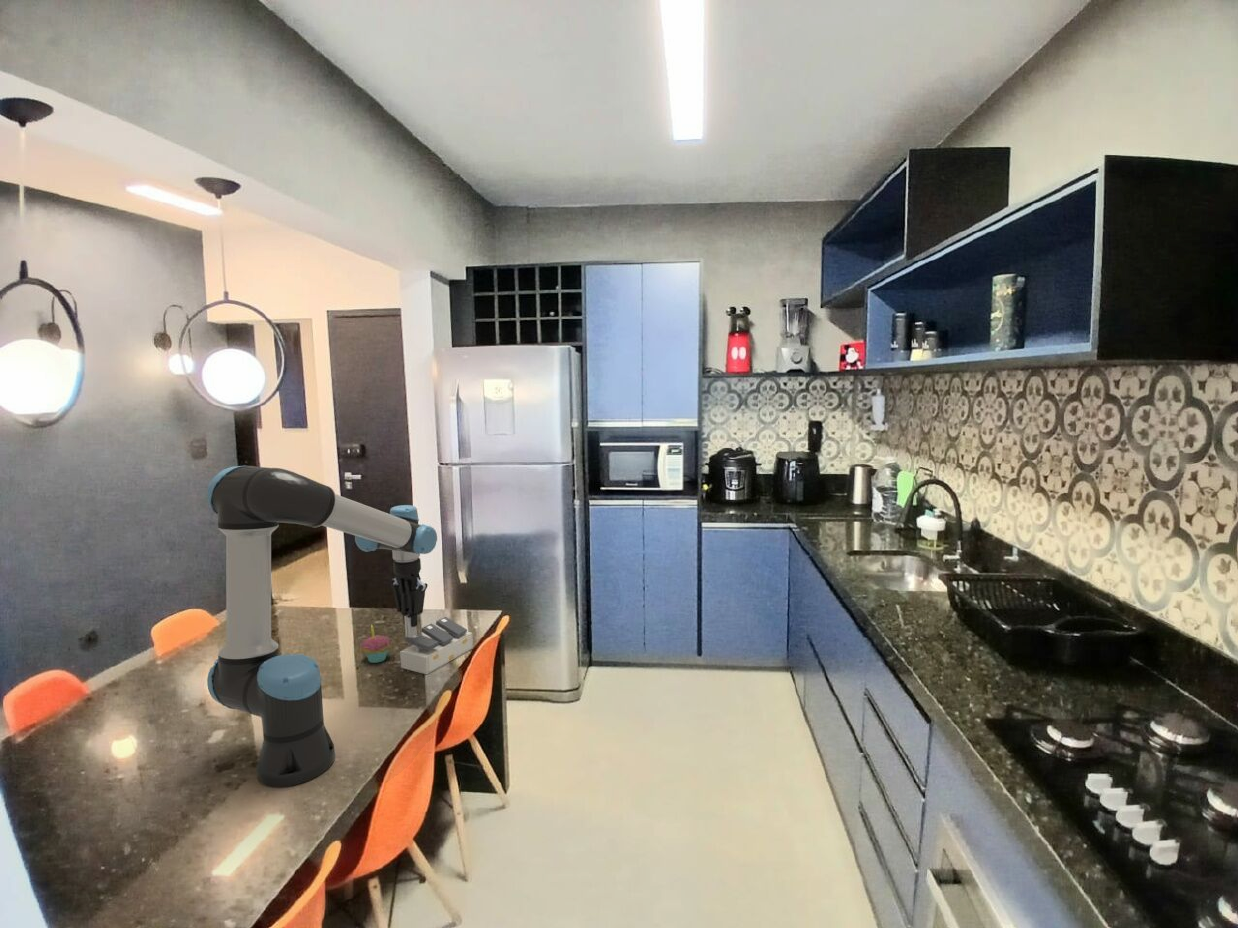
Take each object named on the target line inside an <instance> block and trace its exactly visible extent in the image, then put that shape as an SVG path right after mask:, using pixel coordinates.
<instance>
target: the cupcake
mask: <svg viewBox="0 0 1238 928" xmlns="http://www.w3.org/2000/svg"><path fill="white" fill-rule="evenodd" d="M370 625H371V626H370V629H371V630H370V631H371V636H370V637H367V638H366V639H365V640H363V641H362V643H361V645H360V646H361V651H362V653H363V654H365V656H366V657H367V660H368V662H369V663H373V664H374V663H375V664H376V663H381V662H383V661H385V660H386V658H387V654H388V651H389V649H390V648H391V647H392V642H391V639H390V638H389V637H388V636H385V635H381V634H375V630H374V625H373V624H372V623H371V624H370Z"/></svg>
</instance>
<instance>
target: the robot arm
mask: <svg viewBox="0 0 1238 928" xmlns="http://www.w3.org/2000/svg"><path fill="white" fill-rule="evenodd" d="M206 503H207V505H208V508H209V509H210V510H212V512H213V513H214V514H216V515H217V530H218V531H219V532H221V533H222V534H223V535H225V537H226V540H225V541H226V542H225V545H226V546H225V547H226V548H225V551H226V553H225V555H226V557H225V558H226V559H225V560H226V562H225V563H226V564H225V565H226V567H225V569H226V574H225V575H226V577H225V578H226V580H225V582H226V583H225V585H226V586H225V587H226V588H225V589H226V590H225V591H226V594H225V595H226V599H225V600H226V602H225V605H226V606H225V609H226V612H225V613H226V621H225V622H226V624H225V625H226V627H225V628H226V629H225V630H226V633H225V634H226V635H225V637H226V640H225V641H226V643H225V644H224V646H222V648H220V649H219V651H218V655H217V656H218V658H217V659H216V660H215V661H214V662H213V666H212V667H210V669H209V671H208V674H207V679H206V683H207V684H206V686H207V690H208V693H209V695H210V696H211V698H212V699H213V700H214V701H215V702H217V703H218V704H221V705H222V706H224V707H226V708H228V709H230V710H231V709H232V710H236V711H239V712H240V711H241V712H244V713H247V714H250V715H253V716H256V717H259V718H260V719H261V727H262V736H263V741H262V744H261V749H260V751H259V756H258V757H259V758H258V760H257V763H256V777H257V780H258V782H260V784H262V785H265V786H266V787H267V786H268V787H273V788H283V787H291V786H296V785H299V784H302V783H305V782H308V781H310V780H312V779H314V778H316V777H318V776H320V775H322V774H323V773H324V772H326V771H328V769H329V768H330V767H331V766H332V765H333V764H334V762H335V760H336V749H335V748H336V747H335V744H334V741H333V740H332V738H331V736H330V733H329V732H328V730H327V728H326V726H325V721H324V706H323V693H322V692H323V691H322V688H323V687H322V676H321V672H320V671H321V670H320V667H319V664H318V661H316V660H315V659H314V658H313V657H311V656H309V655H306V654H301V653H294V654H290V653H286V654H281V655H279V652H280V651H279V643H278V642H277V641H275V640H274V639H272V534H273V532H274V531H276V530H277V529H278V528H279V526H280V525H279V523H283V524H285V523H286V524H293V525H294V524H295V525H302V526H307V527H310V528H318V527H321V526H322V527H325V528H326V527H327V528H329V529H332V530H335V531H339V532H343V533H345V534H349V535H352V536H354V542H355V544H356V546H357V547H358V549H360V550H361V551H363V552H372V551H376V550H378V549H379V550H390V551H391V553H392V559H393V562H392V563H393V573H394V574H395V577H394V578H392V579H390V580H389V581H388V583H389V585H390V587H391V589H392V594H393V598H394V602H395V607H396V611H397V612H398V613H400V614H401V615H402V618H403V620H402V621H403V626H404V630H405V631H404V634H405V638H406V637H409V638H411V637H413V636H415V635H417V634H418V629H417V627H418V625H419V624H418V616H419V615H420V614H423V613H424V607H425V606H424V605H425V597H426V590H427V589H428V584H427V583H426V582H425V583H423V582H422V580H421V576H420V573H421V570H422V565H421V558H420V557H421V555H427V554H430V553H432V552H433V551H434V549H435V548H436V545H437V542H438V535H437V534H438V533H437V531H436V529H435V528H434V527H432V526H431V525H426V524H419V521H420V519H419V513H418V509H417V507H416V506H415V505H410V504H403V505H396V506H393V507H391V508H390V510H389V513H388V512H385V511H382V510H379V509H378V508H374V507H372V506H368V505H365V504H364V503H361V502H358V501H356V500H352V499H350V498H347V497H345V496H341V495H339V494H337V493H336V492H335V490H334V489H333V488H332V487H330V486H329V485H326V484H323V483H322V482H321V483H320V482H318V481H316V480H314V479H311V478H309V477H307V476H304V475H302V474H299V473H297V472H295V471H291V470H288V469H284V468H278V467H266V466H265V467H263V466H254V465H238V466H229V467H228V468H225V469H223V470H220V471H219V472H218V473H217V474H216V475H215V476H214V477H213V478H212V480H211V481H210V482H209V485H208V487H207V488H206Z"/></svg>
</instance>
